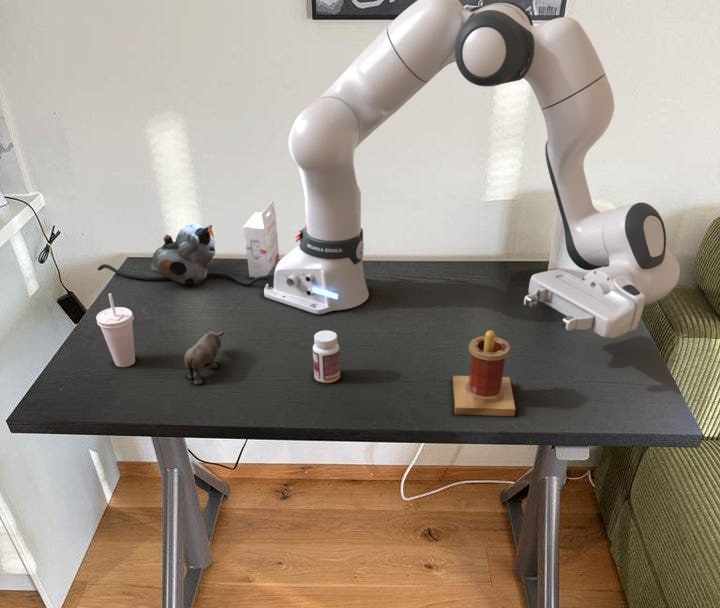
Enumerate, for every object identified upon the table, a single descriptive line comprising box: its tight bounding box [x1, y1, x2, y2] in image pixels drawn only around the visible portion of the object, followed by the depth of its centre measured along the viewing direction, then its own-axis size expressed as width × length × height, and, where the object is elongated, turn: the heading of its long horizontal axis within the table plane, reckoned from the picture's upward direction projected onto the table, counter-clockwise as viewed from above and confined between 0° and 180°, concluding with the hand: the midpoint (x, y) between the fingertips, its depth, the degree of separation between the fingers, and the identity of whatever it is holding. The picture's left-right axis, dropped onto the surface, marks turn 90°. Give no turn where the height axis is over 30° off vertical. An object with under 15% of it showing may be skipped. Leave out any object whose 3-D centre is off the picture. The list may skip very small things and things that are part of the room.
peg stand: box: [452, 329, 516, 417], centre depth 128 cm, size 10×10×13 cm
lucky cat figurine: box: [147, 223, 217, 287], centre depth 167 cm, size 15×12×14 cm
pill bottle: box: [312, 330, 341, 384], centre depth 136 cm, size 5×5×8 cm
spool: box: [464, 335, 511, 402], centre depth 129 cm, size 7×7×9 cm
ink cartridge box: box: [242, 200, 280, 279], centre depth 168 cm, size 9×5×15 cm, turn 168°
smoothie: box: [95, 292, 136, 368], centre depth 138 cm, size 6×6×14 cm
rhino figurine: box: [183, 327, 225, 385], centre depth 139 cm, size 4×14×6 cm, turn 164°
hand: (545, 313), depth 129 cm, fingers open, 8 cm apart
